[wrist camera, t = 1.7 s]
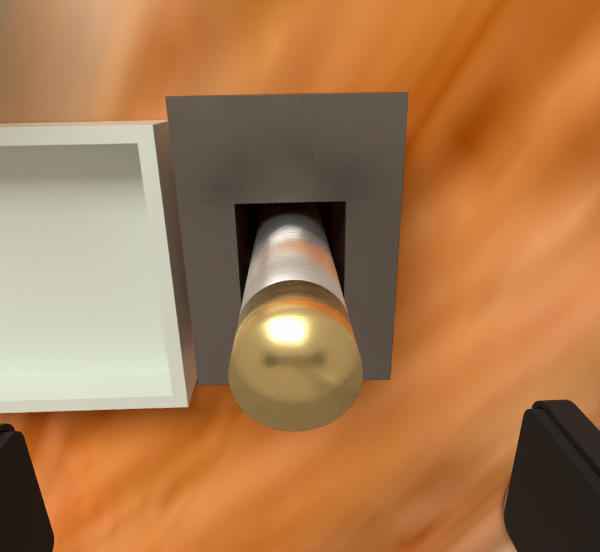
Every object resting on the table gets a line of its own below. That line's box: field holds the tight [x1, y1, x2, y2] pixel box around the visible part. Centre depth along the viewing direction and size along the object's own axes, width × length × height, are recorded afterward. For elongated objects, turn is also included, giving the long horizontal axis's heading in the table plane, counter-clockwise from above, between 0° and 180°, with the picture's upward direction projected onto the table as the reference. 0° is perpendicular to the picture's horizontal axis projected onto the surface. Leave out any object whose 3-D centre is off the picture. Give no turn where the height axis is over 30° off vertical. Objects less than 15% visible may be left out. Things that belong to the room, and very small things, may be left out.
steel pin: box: [228, 202, 363, 431], centre depth 20 cm, size 4×4×16 cm
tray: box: [0, 120, 197, 413], centre depth 26 cm, size 16×16×4 cm
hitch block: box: [165, 92, 408, 386], centre depth 25 cm, size 14×10×6 cm
